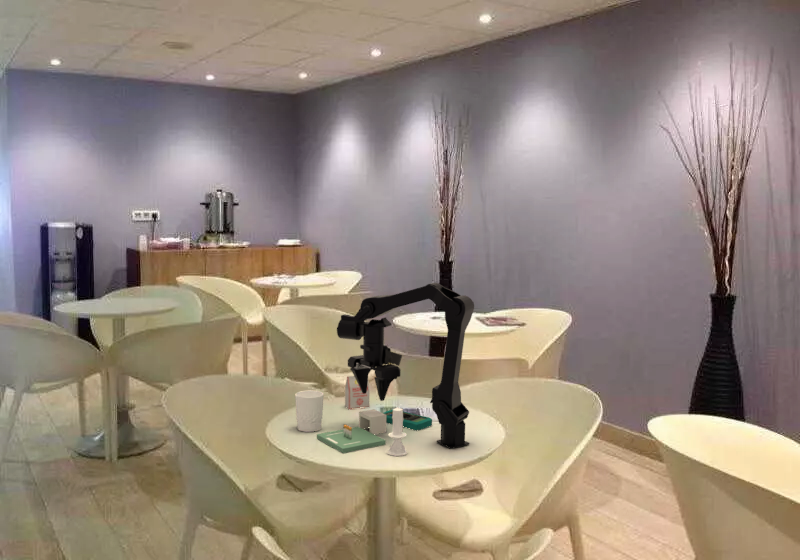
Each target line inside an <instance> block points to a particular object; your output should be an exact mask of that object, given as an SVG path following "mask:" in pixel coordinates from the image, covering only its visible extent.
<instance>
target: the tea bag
mask: <svg viewBox="0 0 800 560" xmlns="http://www.w3.org/2000/svg"><path fill="white" fill-rule="evenodd" d="M370 391H371V390H370V382H369V380H368V384H367V392H366V393H365V394H363V393H362V391H361V389H360V387H359V384H358V382H357V380H356V378H355V376H354V375H348V376H346V381H345V388H344V407H345V408H346V407H347V408H348V410H349V409H350V410H353V409H352V408H360V407H369V408H370ZM347 408H346V409H347Z"/></svg>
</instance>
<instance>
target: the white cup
mask: <svg viewBox="0 0 800 560" xmlns="http://www.w3.org/2000/svg"><path fill="white" fill-rule="evenodd" d="M294 395H295V412H296V413H295V415H296V423H297V426H296V427H297V430H298V431H300V432H305V433H314V431H315V432H319V431H320V430H322V424H323V423H322V421H323V420H322V419H323V412H324V411H323V410H324V397H325V395H324V392H322V391H319V390H312V389H311V390H310V389H309V390H301V391H297V392H296V393H295V394H294Z"/></svg>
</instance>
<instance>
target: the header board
mask: <svg viewBox="0 0 800 560" xmlns="http://www.w3.org/2000/svg"><path fill="white" fill-rule="evenodd" d="M316 439H317V440H318V441H321V442H322V443H324V444H325V445H327V446H329V447H331V448H333V449H334V450H336V451H338V452H340V453H341V454H346V453H351V452H356V451H362V450H366V449H371V448H375V447H381V446H386V443H387V442H386V441H387V440H386V439H384V438H382V437H380V436H378V435H377V434H375V435H374V434H372V433H370V431H368V430H367V429H362V428H360V427H359V426H353V427H352V439H351V440H349V438H346V437H344V428H343V429H338V430H333V431H327V432H323V433H322V432H321V433H317V434H316Z"/></svg>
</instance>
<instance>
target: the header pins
mask: <svg viewBox="0 0 800 560" xmlns="http://www.w3.org/2000/svg"><path fill="white" fill-rule="evenodd" d="M352 428H353V427H352V426H349V425H348V424H346V423H345V424H343V429H344V437H346V438H349V440H351V439H352Z"/></svg>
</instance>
